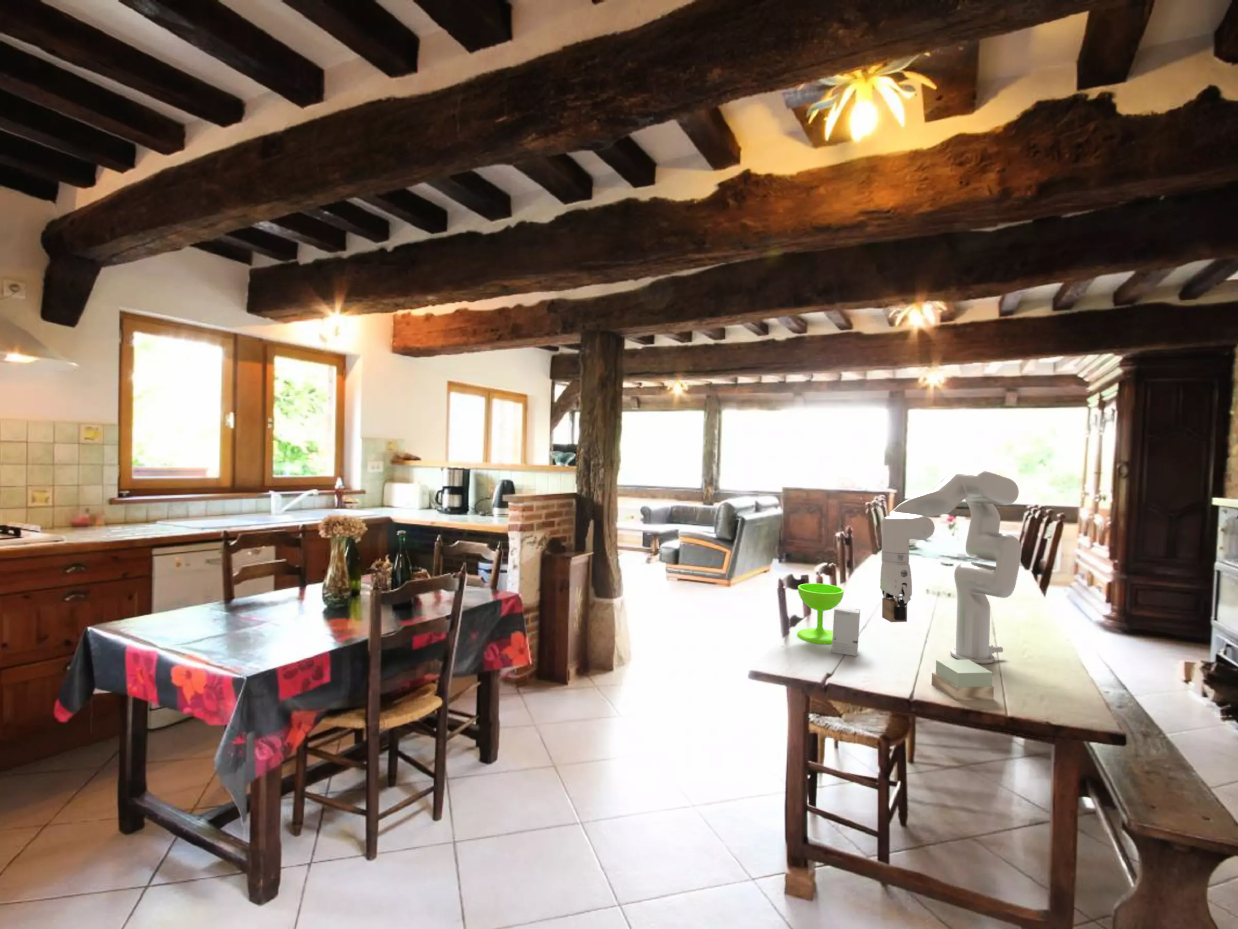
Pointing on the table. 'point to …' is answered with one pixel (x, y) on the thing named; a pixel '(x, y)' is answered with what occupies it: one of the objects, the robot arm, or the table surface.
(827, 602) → the wineglass
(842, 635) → the skincare box
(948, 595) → the table surface
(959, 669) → the block top
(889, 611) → the walnut block
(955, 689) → the block bottom
